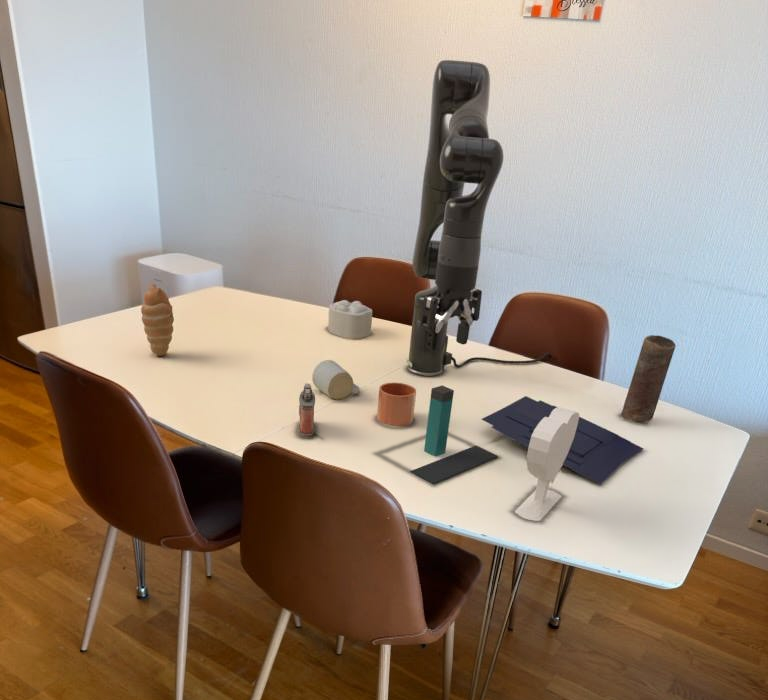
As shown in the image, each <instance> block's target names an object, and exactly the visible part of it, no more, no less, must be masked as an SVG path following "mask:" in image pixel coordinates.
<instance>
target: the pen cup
mask: <svg viewBox="0 0 768 700" xmlns="http://www.w3.org/2000/svg"><path fill="white" fill-rule="evenodd" d="M416 397H417V389H416V388H415V387H414V386H412V385H410V384H407V383H403V382H385V383H382V384H380V385H379V388H378V399H377V413H376V419H377V421H379V423H381V424H385V425H387V426H392V427H404V426H409V425H411V424H412V423H413V421H414V415H415V407H416Z"/></svg>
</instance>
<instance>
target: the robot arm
mask: <svg viewBox="0 0 768 700" xmlns="http://www.w3.org/2000/svg"><path fill="white" fill-rule="evenodd" d="M436 65H437V66H436V68H435V70H434V75H433V81H432V90H431V91H432V92H431V104H430V105H431V106H430V121H429V123H430V124H429V134H428V135H429V136H428V145H427V146H428V147H427V151H426V152H427V153H426V158H425V159H426V160H425V166H424V171H423V180H422V186H421V199H420V200H421V201H420V212H419V221H418V226H417V233H416V238H415V242H414V243H415V245H414V248H413V254H412V273H413V275H414V276H415V277H416V278H419V279H422V280H432V281H434V283H435V286H433V287H431V288H427V289H424V290H420V291H418V292H417V293H415V296H414V302H413V312H412V323H411V331H410V340H409V341H410V342H409V350H408V351H409V352H408V358H407V359H406V364H407V365H406V368H407V370H408V372H410V373H412V374H415V375H417V376H422V377H435V376H440V374H442V373H443V371H445V366H447V365H451V364H452V362H453V366H454V367H455V368H461V367H464V366H465V365H467V364H468V363H470V362H473V361H489V362H493V363H500V364H501V363H502V364H510V365H511V364H515V365H516V364H532V363H533V364H534V363H538V362H540V361H542V360H543V359H544V358H546V357H547V356H548V357H549V358H553V355H552V354H551V353H550V352H546V353H544V354H542V355H541V356H540V357H539V358H537V359H530V360H505V359H504V360H503V359H496V358H490V357H482V356H481V357H480V356H477V357H470V358H467V360H465V361H464V362H462V364H458V363H457V360H456V358H455V357H453V353H451V352H449V351H447V349H448V343H449V336H448V335H447V333H448V332H447V331H448V326H449V325H448V324H449V320H450V319H452V318H455V317H457V319H458V321H459V323H458V325H457V330H456V332H457V333H456V339H455V341H456V343H458V344H459V345H466V344H467V343H468V340H469V334H470V329H471V326H472V325H473V322H478V320H479V319H480V314H481V313H480V312H481V304H482V295H483V291H482V290H481V289H479V288H477V287H476V285H477V279H478V271H479V266H480V258H481V251H482V234H483V227H484V220H485V215H486V209H487V206H488V203H489V199H490V197H491V194H492V191H493V189H494V187H495V184H496V182H497V180H498V179H499V175H500V173H501V170H502V168H503V163H504V159H505V158H504V156H505V155H504V149H503V146H502V145H501V143H500V142H499V141H498V140H497V139H494V138H490V133H489V128H488V114H489V106H490V95H491V76H490V75H491V74H490V71H489V69H488V67H487V65H485V64H483V63H480V62H476V61H465V60H455V59H454V60H451V59H443V60H441V61H439V62H438V63H437V64H436ZM447 115H451V117H450V119H449V121H447ZM465 184H476V185H477V186H476V188H475V189H474V190H473V191H472V192H471V193H469V194H467V195H463V194H464V189H465ZM441 225H442V230H441V231H442V232H441V236H440V240H436V239H435V240H434V239H432V238H433V236H434V235H435V232H436V231H437V230H438V228H440V227H441Z"/></svg>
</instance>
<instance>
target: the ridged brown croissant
mask: <svg viewBox="0 0 768 700" xmlns="http://www.w3.org/2000/svg"><path fill="white" fill-rule="evenodd" d="M169 299H170V298H169V297H168V295H167V293H166V292H165V291H164V290H162V289H161V287H157V285H156V284H155V283H154V282H152V283H151V286H150V288H148V289H147V290H146V291H145V292H144V295H143V303H142V305H141V309H140V313H141V315H142V316H141V322H142V324H143V330H144V333H145V335H146V339H147V342H148V343H149V348H150V350H151V352H152V354H153V355H155V356H156V357H157V356H158V357H162V356H165V355H166V354H167V353H168V351H169V348H170V344H171V342H172V340H173V333H174V326H173V324H174V321H175V318H174V317H175V316H174V313H173V306H172V304H171V302H170V300H169Z"/></svg>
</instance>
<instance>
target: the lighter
mask: <svg viewBox="0 0 768 700" xmlns="http://www.w3.org/2000/svg"><path fill="white" fill-rule="evenodd" d="M298 403H299V405H298V415H299V423H298V435H299V436H300V438H303V439H311V438H313V436H314V435H315V423H314V422H315V421H314V420H315V405H316V395H315V392H314V391H313V389H312V385H311V383H306V382H305V384H304V385H303V390H302V391H301V392H300V394H299V397H298Z"/></svg>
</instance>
